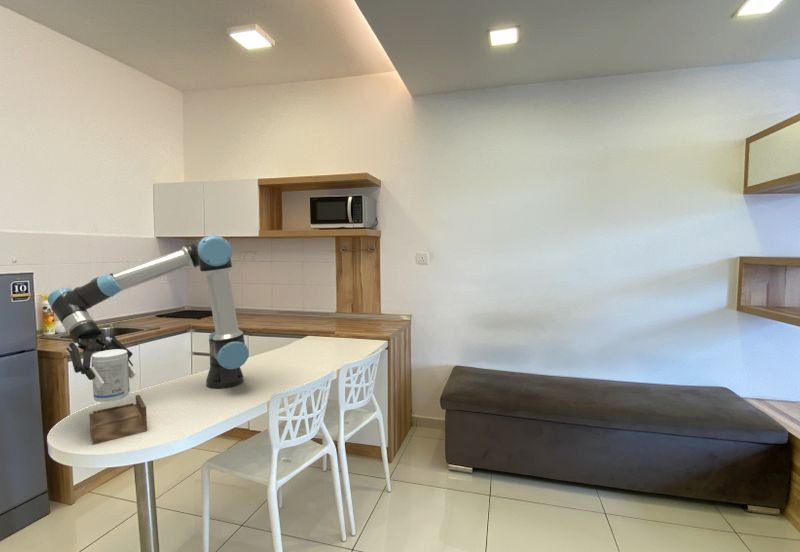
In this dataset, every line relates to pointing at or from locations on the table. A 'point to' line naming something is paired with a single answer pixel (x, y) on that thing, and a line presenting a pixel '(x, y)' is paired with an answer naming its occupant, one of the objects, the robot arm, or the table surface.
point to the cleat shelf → (118, 421)
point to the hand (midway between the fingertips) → (118, 380)
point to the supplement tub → (111, 375)
